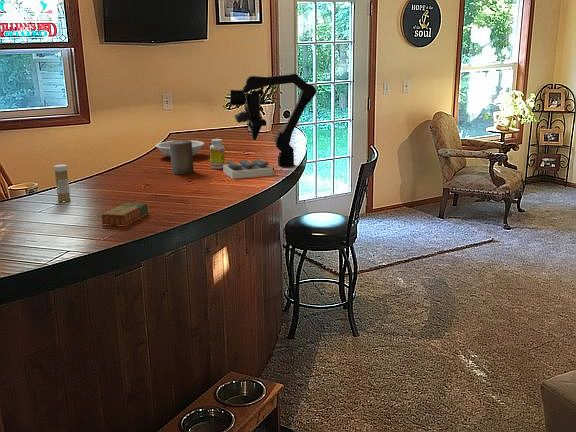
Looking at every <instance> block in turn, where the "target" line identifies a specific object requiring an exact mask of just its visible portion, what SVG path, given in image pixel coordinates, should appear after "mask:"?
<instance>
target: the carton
mask: <svg viewBox="0 0 576 432" xmlns="http://www.w3.org/2000/svg"><path fill="white" fill-rule="evenodd" d="M147 213H148V214H149V207H148V203H147V202H125V203H123V204H120V205H118V206H116V207H115V208H112V209H110V210H108V211H106V212H103V213H101V223H102V225H103V224H109V225H110V224H111V225H126V224H128V223H130V222H132V221H134V220H136V219H138V218H139V217H141V216H143V215H145V214H147ZM148 214H147V215H148ZM145 216H146V215H145ZM143 217H144V216H143ZM138 220H139V219H138ZM136 221H137V220H136Z"/></svg>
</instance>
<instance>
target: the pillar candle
mask: <svg viewBox="0 0 576 432" xmlns="http://www.w3.org/2000/svg"><path fill="white" fill-rule="evenodd" d="M171 141H172V142H170V153H171V157H170V166H171V172H172V174H173V175H179V176H180V175H188V174H193V173H194V172H195V171H194V159H193V157H194V155H193V153H192V141H190V139H189V140H188V139H186V140H183V139H180V140H179V139H178V140H171Z"/></svg>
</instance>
